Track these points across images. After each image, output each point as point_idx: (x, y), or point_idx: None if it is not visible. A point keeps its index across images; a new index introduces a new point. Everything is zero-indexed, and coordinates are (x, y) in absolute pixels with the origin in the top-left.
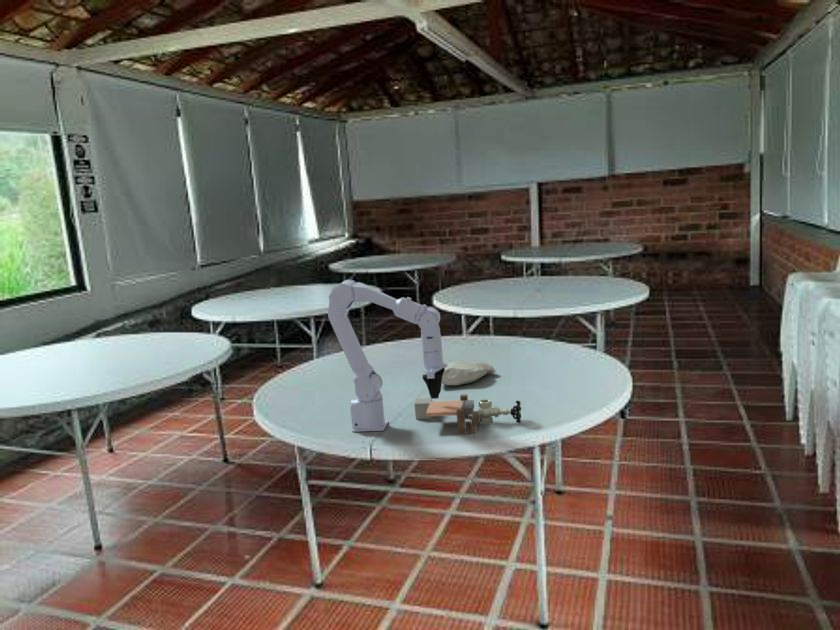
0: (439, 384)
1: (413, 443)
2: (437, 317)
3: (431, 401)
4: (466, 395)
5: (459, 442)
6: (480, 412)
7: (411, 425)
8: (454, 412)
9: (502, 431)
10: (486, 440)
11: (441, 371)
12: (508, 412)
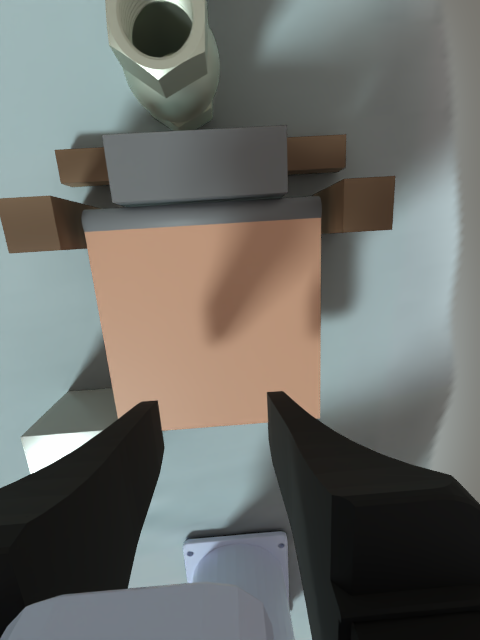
0: (359, 445)
1: (419, 400)
2: None
3: (64, 429)
4: (23, 202)
5: (440, 211)
6: (208, 96)
7: (223, 448)
8: (319, 254)
9: None
10: (437, 73)
11: (46, 558)
12: None
